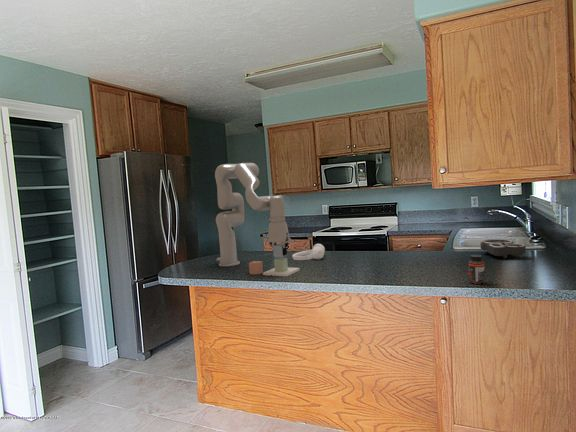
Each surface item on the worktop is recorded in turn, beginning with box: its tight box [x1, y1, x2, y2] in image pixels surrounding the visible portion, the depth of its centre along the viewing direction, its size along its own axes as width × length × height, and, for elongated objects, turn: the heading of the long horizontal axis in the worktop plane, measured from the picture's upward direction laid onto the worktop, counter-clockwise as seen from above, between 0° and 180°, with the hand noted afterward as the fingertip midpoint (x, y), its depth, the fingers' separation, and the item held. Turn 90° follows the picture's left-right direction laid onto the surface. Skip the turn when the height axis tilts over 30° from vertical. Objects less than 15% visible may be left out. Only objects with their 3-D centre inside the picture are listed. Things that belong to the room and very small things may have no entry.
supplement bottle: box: [468, 254, 486, 285], centre depth 165 cm, size 6×6×11 cm
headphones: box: [292, 243, 326, 261], centre depth 245 cm, size 19×8×20 cm
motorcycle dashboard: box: [480, 238, 527, 261], centre depth 214 cm, size 26×16×7 cm, turn 174°
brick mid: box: [272, 243, 288, 258], centre depth 209 cm, size 5×5×6 cm
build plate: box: [262, 257, 301, 277], centre depth 210 cm, size 14×14×7 cm
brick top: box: [248, 260, 264, 275], centre depth 213 cm, size 5×5×6 cm
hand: (280, 254), depth 209 cm, fingers closed on brick mid, 4 cm apart
